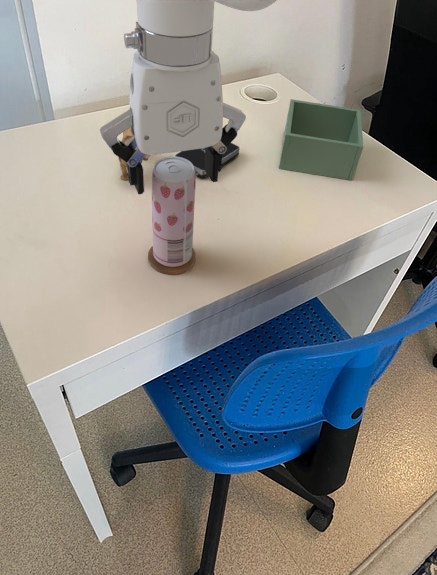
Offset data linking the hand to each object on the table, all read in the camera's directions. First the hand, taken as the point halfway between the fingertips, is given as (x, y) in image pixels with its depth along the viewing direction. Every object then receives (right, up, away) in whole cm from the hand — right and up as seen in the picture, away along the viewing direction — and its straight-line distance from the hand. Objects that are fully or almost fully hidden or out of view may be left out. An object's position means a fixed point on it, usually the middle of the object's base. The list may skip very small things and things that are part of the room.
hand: (175, 181), depth 63 cm
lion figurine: (-9, +8, +25) cm, 28 cm away
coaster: (-1, -9, +10) cm, 14 cm away
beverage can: (-1, -9, +10) cm, 13 cm away
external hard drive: (+4, +10, +28) cm, 30 cm away
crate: (+25, +12, +32) cm, 42 cm away
